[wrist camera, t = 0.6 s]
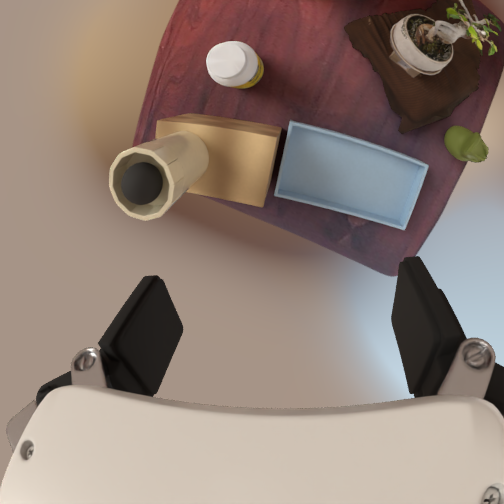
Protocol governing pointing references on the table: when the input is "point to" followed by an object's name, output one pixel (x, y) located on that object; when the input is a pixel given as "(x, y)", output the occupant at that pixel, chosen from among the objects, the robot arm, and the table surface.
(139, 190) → the ball
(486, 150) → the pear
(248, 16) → the table surface
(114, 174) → the jar
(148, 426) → the robot arm
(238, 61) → the pill bottle
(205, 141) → the plinth
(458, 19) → the potted plant
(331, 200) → the tray
